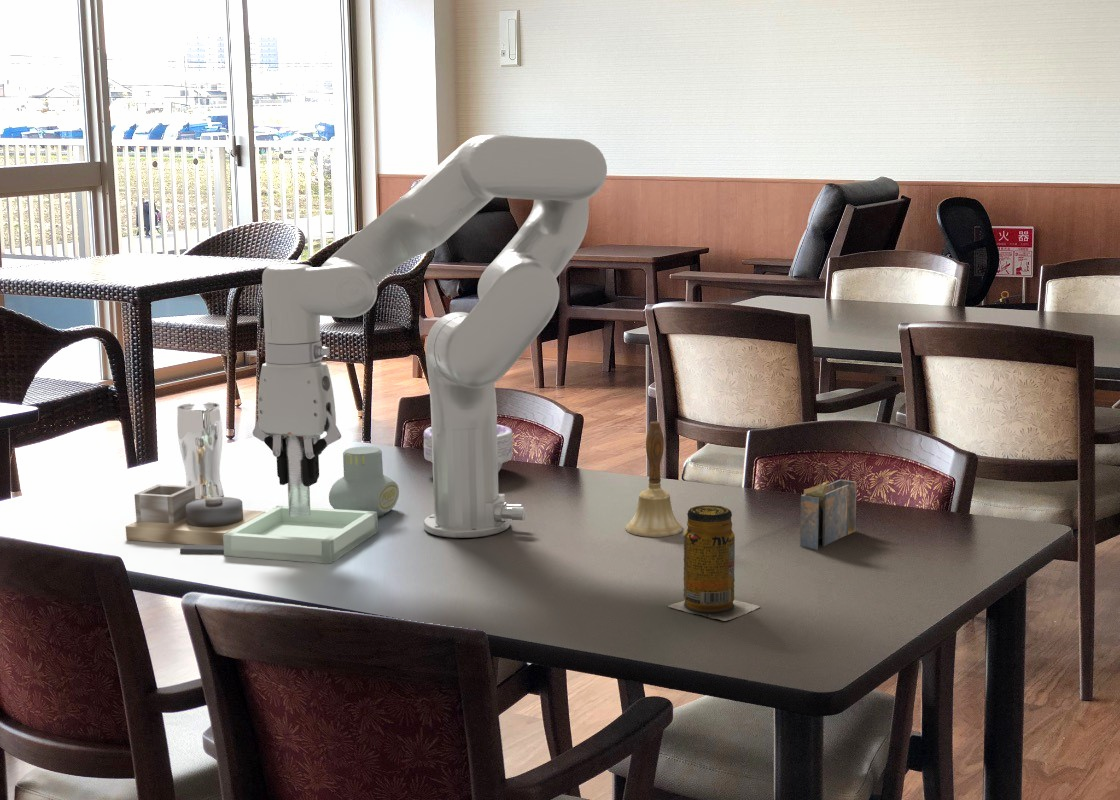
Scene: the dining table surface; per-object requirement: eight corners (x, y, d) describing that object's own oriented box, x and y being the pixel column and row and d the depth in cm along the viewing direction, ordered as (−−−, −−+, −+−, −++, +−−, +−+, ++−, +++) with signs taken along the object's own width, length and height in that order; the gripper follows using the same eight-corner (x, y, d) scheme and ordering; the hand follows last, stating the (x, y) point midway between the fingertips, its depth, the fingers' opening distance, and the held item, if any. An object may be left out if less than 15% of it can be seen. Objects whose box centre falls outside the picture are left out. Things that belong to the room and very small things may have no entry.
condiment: (704, 593, 167) (704, 499, 165) (760, 608, 162) (762, 511, 160) (667, 608, 162) (667, 511, 160) (724, 623, 157) (725, 523, 154)
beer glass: (232, 491, 222) (226, 402, 219) (217, 502, 215) (211, 410, 213) (191, 491, 223) (185, 401, 220) (175, 502, 216) (169, 409, 213)
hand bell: (693, 526, 197) (693, 419, 194) (665, 540, 190) (665, 429, 188) (643, 519, 202) (643, 414, 199) (614, 532, 195) (613, 423, 192)
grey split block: (819, 553, 185) (821, 484, 183) (800, 549, 187) (801, 480, 185) (858, 534, 193) (859, 468, 192) (838, 531, 195) (840, 465, 193)
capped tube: (318, 511, 192) (315, 420, 190) (306, 519, 188) (302, 426, 186) (293, 510, 193) (289, 419, 191) (280, 517, 189) (276, 424, 187)
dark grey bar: (282, 550, 188) (282, 546, 188) (278, 554, 186) (278, 550, 186) (185, 548, 190) (185, 544, 190) (180, 553, 188) (179, 548, 188)
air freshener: (357, 503, 214) (355, 441, 212) (405, 507, 211) (402, 444, 209) (323, 521, 204) (320, 456, 202) (372, 525, 201) (370, 459, 199)
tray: (377, 531, 197) (377, 511, 197) (330, 563, 182) (329, 542, 181) (278, 525, 201) (277, 505, 201) (224, 555, 186) (222, 534, 186)
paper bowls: (530, 470, 234) (529, 425, 233) (479, 489, 221) (478, 441, 220) (459, 460, 242) (458, 417, 241) (406, 478, 229) (404, 432, 228)
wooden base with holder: (266, 524, 202) (264, 485, 201) (225, 546, 191) (223, 505, 189) (171, 518, 206) (168, 479, 205) (125, 539, 195) (122, 499, 194)
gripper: (358, 352, 188) (363, 480, 191) (253, 348, 193) (259, 474, 196) (335, 360, 181) (340, 493, 184) (226, 356, 185) (233, 486, 189)
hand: (298, 482), depth 190 cm, fingers closed on capped tube, 3 cm apart
